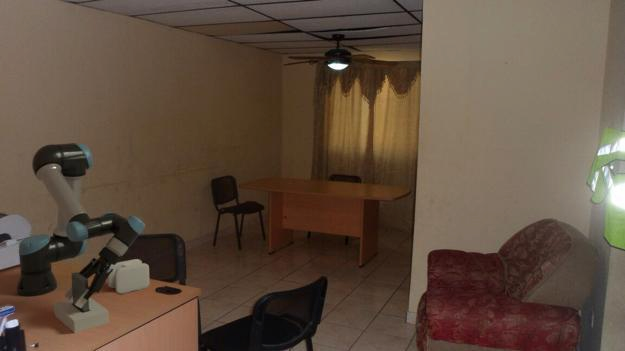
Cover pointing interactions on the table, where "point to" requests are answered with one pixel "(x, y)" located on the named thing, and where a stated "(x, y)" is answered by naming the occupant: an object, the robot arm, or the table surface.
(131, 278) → the cable organizer
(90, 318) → the slotted box
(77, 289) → the cover plate
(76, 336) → the table surface
